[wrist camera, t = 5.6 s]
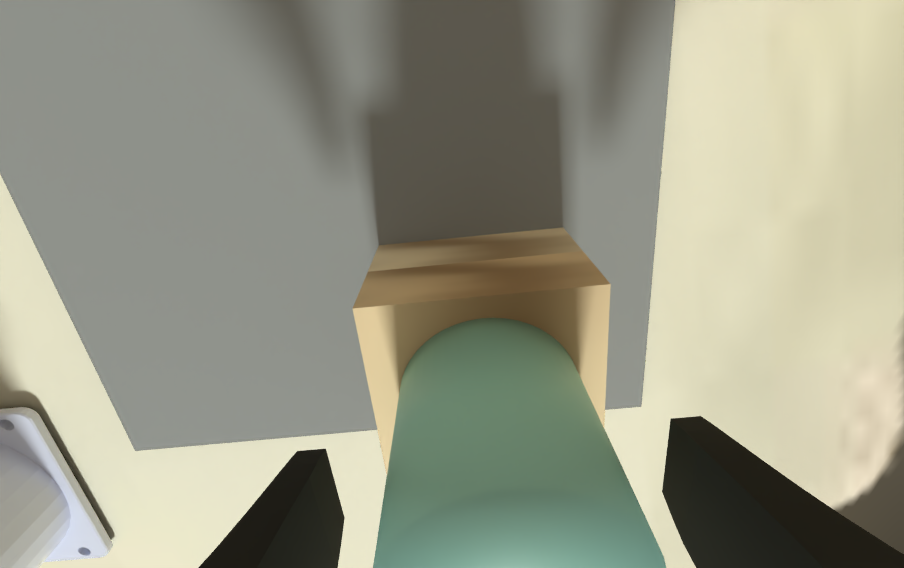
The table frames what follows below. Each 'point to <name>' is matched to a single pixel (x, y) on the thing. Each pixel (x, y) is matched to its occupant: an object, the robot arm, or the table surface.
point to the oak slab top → (480, 296)
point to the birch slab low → (473, 249)
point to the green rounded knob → (504, 461)
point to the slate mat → (314, 180)
